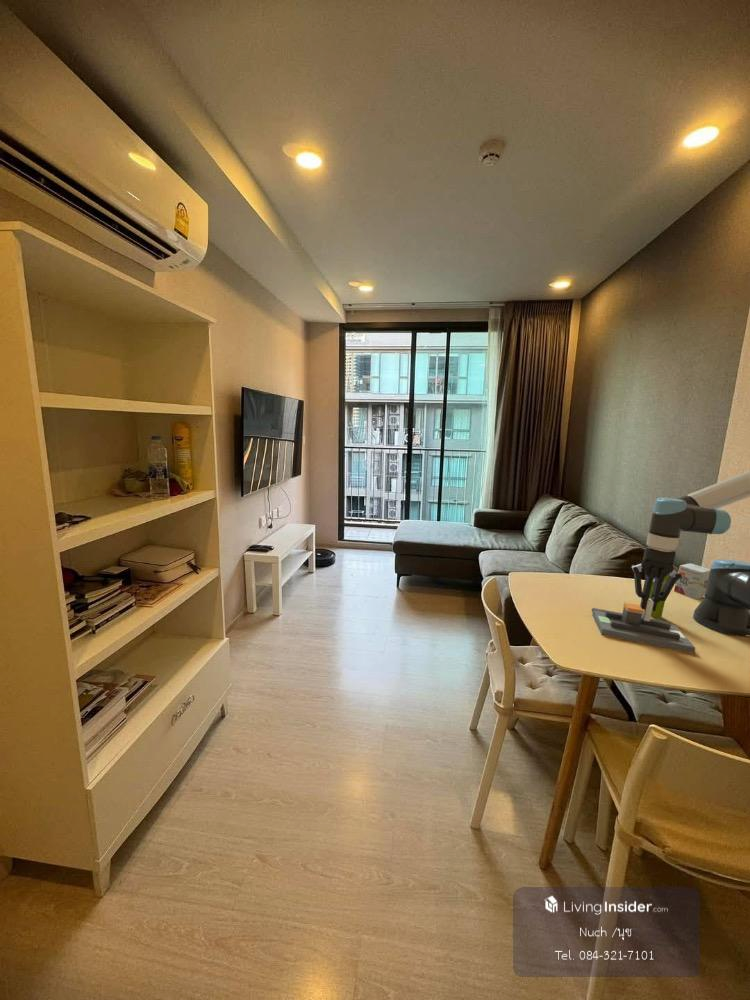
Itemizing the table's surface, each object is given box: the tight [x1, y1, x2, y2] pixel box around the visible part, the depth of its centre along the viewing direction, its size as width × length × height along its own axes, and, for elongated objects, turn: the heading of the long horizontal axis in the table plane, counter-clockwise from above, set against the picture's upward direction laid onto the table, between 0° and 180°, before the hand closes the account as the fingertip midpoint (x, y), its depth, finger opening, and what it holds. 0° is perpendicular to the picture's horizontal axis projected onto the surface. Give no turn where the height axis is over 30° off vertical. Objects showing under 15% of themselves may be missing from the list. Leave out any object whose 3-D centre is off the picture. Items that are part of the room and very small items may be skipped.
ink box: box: [673, 563, 710, 600], centre depth 155 cm, size 9×9×12 cm
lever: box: [621, 601, 643, 626], centre depth 120 cm, size 4×4×6 cm
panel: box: [591, 610, 696, 654], centre depth 120 cm, size 24×14×4 cm, turn 70°
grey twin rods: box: [591, 607, 668, 622], centre depth 129 cm, size 23×3×1 cm, turn 70°
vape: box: [649, 574, 670, 619], centre depth 132 cm, size 4×6×20 cm, turn 26°
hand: (645, 618), depth 119 cm, fingers closed
